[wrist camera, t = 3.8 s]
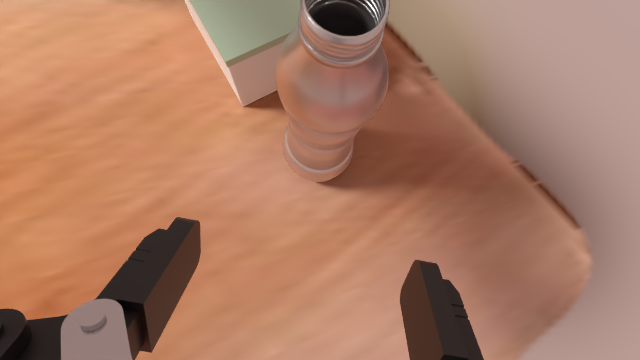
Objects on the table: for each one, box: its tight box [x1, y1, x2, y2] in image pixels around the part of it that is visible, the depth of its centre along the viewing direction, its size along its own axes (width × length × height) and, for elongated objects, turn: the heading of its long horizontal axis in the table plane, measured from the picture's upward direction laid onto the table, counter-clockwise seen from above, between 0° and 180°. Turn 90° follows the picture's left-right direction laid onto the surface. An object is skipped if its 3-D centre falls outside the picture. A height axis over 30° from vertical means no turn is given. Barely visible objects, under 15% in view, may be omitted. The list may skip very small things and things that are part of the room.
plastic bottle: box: [275, 0, 390, 182], centre depth 22 cm, size 6×7×20 cm
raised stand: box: [184, 0, 300, 107], centre depth 31 cm, size 12×13×8 cm
